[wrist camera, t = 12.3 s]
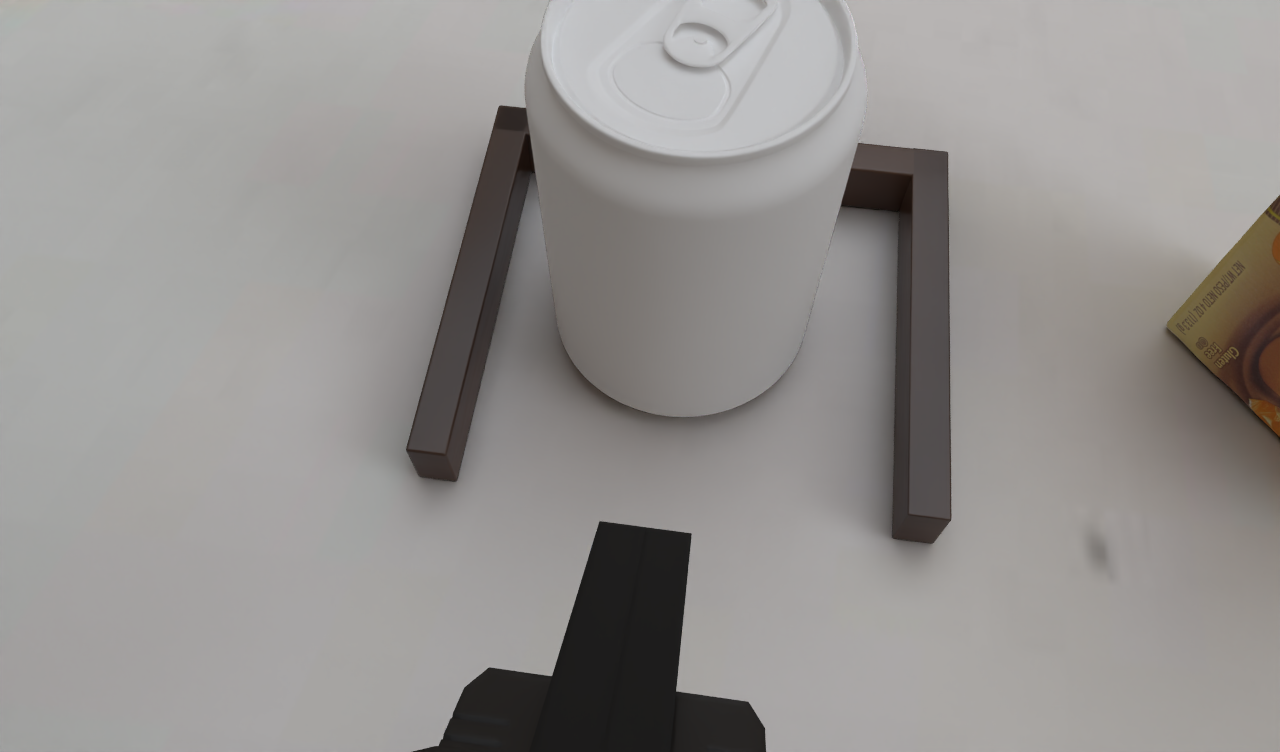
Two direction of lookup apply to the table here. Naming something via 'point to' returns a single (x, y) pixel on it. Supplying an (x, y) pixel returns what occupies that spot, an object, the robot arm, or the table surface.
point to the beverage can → (690, 186)
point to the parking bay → (872, 183)
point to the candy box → (1241, 318)
